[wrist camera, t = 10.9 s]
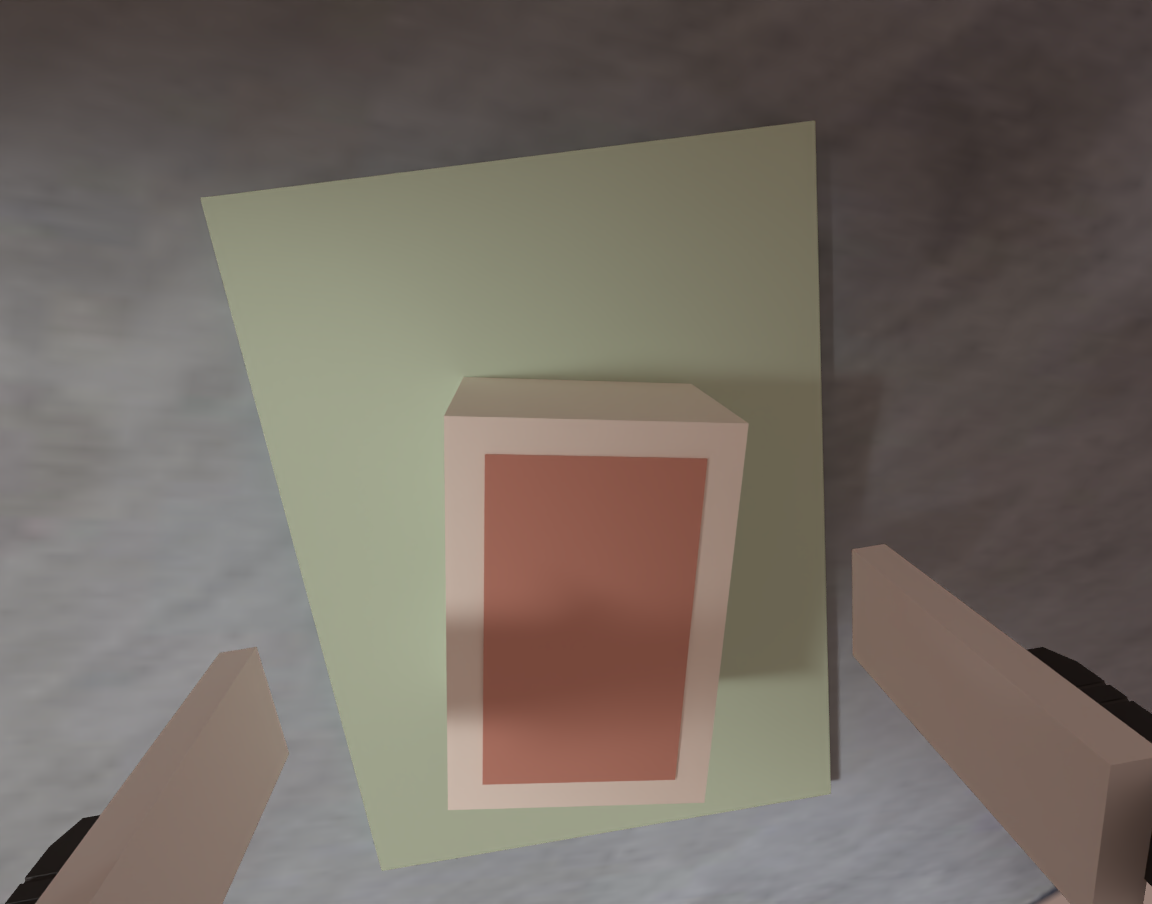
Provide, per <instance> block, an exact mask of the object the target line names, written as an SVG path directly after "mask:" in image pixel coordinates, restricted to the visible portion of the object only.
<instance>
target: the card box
mask: <svg viewBox="0 0 1152 904" xmlns="http://www.w3.org/2000/svg"><path fill="white" fill-rule="evenodd" d="M748 426H749V423H747V422H746V421H744V420H743V419H742V418H740V417H739V416H737V415H736V414H734V413H733V412H731V411H730V410H728V409H727V408H726V407H724V406H723V405H721V404H720V403H718V402H717V401H715V400H714V399H713V398H711V397H710V396H708V395H707V394H705V393H704V392H702V391H701V390H700V389H698V388H697V387H695V386H694V385H692V384H684V383H650V382H617V381H584V380H550V379H517V378H484V377H463V379H462V381H461V383H460V385H459V387H458V389H457V391H456V393H455V395H454V397H453V399H452V401H451V403H450V405H449V407H448V409H447V411H446V413H445V415H444V478H445V576H446V675H447V773H448V810H471V809H506V808H541V807H576V806H611V805H646V804H681V803H704V802H705V793H706V785H707V776H708V768H709V759H710V751H711V742H712V734H713V725H714V716H715V708H716V699H717V691H718V682H719V674H720V665H721V657H722V648H723V639H724V631H725V622H726V614H727V605H728V597H729V588H730V580H731V571H732V562H733V554H734V545H735V537H736V528H737V520H738V511H739V503H740V494H741V485H742V477H743V468H744V460H745V451H746V443H747V434H748Z"/></svg>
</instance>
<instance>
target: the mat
mask: <svg viewBox="0 0 1152 904" xmlns="http://www.w3.org/2000/svg"><path fill="white" fill-rule="evenodd" d="M200 199H201V203H202V207H203V211H204V214H205V218H206V222H207V225H208V229H209V233H210V236H211V240H212V244H213V248H214V251H215V255H216V259H217V262H218V266H219V270H220V274H221V277H222V281H223V285H224V288H225V292H226V296H227V299H228V303H229V307H230V311H231V314H232V318H233V322H234V325H235V329H236V333H237V337H238V340H239V344H240V348H241V351H242V355H243V359H244V362H245V366H246V370H247V374H248V377H249V381H250V385H251V388H252V392H253V396H254V400H255V403H256V407H257V411H258V414H259V418H260V422H261V425H262V429H263V433H264V437H265V440H266V444H267V448H268V451H269V455H270V459H271V463H272V466H273V470H274V474H275V477H276V481H277V485H278V488H279V492H280V496H281V500H282V503H283V507H284V511H285V514H286V518H287V522H288V526H289V529H290V533H291V537H292V540H293V544H294V548H295V551H296V555H297V559H298V563H299V566H300V570H301V574H302V577H303V581H304V585H305V589H306V592H307V596H308V600H309V603H310V607H311V611H312V614H313V618H314V622H315V626H316V629H317V633H318V637H319V640H320V644H321V648H322V652H323V655H324V659H325V663H326V666H327V670H328V674H329V677H330V681H331V685H332V689H333V692H334V696H335V700H336V703H337V707H338V711H339V714H340V718H341V722H342V726H343V729H344V733H345V737H346V740H347V744H348V748H349V752H350V755H351V759H352V763H353V766H354V770H355V774H356V777H357V781H358V785H359V789H360V792H361V796H362V800H363V803H364V807H365V811H366V815H367V818H368V822H369V826H370V829H371V833H372V837H373V840H374V844H375V848H376V852H377V855H378V859H379V863H380V866H381V870H382V871H384V870H390V869H396V868H402V867H408V866H413V865H419V864H425V863H431V862H437V861H443V860H448V859H454V858H460V857H466V856H472V855H478V854H483V853H489V852H495V851H501V850H507V849H512V848H518V847H524V846H530V845H536V844H542V843H547V842H553V841H559V840H565V839H571V838H577V837H582V836H588V835H594V834H600V833H606V832H612V831H617V830H623V829H629V828H635V827H641V826H647V825H652V824H658V823H664V822H670V821H676V820H682V819H687V818H693V817H699V816H705V815H711V814H716V813H722V812H728V811H734V810H740V809H746V808H751V807H757V806H763V805H769V804H775V803H781V802H786V801H792V800H798V799H804V798H810V797H816V796H821V795H827V794H831V780H830V737H829V695H828V652H827V609H826V566H825V523H824V480H823V437H822V395H821V352H820V309H819V266H818V223H817V180H816V137H815V120H814V121H806V122H798V123H791V124H783V125H775V126H767V127H759V128H751V129H743V130H735V131H727V132H719V133H711V134H703V135H695V136H687V137H679V138H672V139H664V140H656V141H648V142H640V143H632V144H624V145H616V146H608V147H600V148H592V149H584V150H576V151H568V152H560V153H553V154H545V155H537V156H529V157H521V158H513V159H505V160H497V161H489V162H481V163H473V164H465V165H457V166H449V167H441V168H433V169H426V170H418V171H410V172H402V173H394V174H386V175H378V176H370V177H362V178H354V179H346V180H338V181H330V182H322V183H314V184H307V185H299V186H291V187H283V188H275V189H267V190H259V191H251V192H243V193H235V194H227V195H219V196H211V197H203V198H200ZM463 377H484V378H517V379H550V380H584V381H617V382H650V383H684V384H692V385H694V386H695V387H697V388H698V389H700V390H701V391H702V392H704V393H705V394H707V395H708V396H710V397H711V398H713V399H714V400H715V401H717V402H718V403H720V404H721V405H723V406H724V407H726V408H727V409H728V410H730V411H731V412H733V413H734V414H736V415H737V416H739V417H740V418H742V419H743V420H744V421H746V422H747V423H749V426H748V434H747V443H746V451H745V460H744V468H743V477H742V485H741V494H740V503H739V511H738V520H737V528H736V537H735V545H734V554H733V562H732V571H731V580H730V588H729V597H728V605H727V614H726V622H725V631H724V639H723V648H722V657H721V665H720V674H719V682H718V691H717V699H716V708H715V716H714V725H713V734H712V742H711V751H710V759H709V768H708V776H707V785H706V793H705V802H704V803H681V804H646V805H611V806H576V807H541V808H506V809H471V810H448V773H447V675H446V576H445V478H444V415H445V413H446V411H447V409H448V407H449V405H450V403H451V401H452V399H453V397H454V395H455V393H456V391H457V389H458V387H459V385H460V383H461V381H462V379H463Z"/></svg>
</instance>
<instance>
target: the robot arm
mask: <svg viewBox="0 0 1152 904" xmlns="http://www.w3.org/2000/svg"><path fill="white" fill-rule="evenodd" d="M852 623H853V656H854V657H855V659H856V660H857V661H858V662H859V663H860V664H861V665H862V667H863V668H864V669H865V670H866V671H867V672H868V673H869V675H870V676H871V677H872V678H873V679H874V680H875V681H876V683H877V684H878V685H879V686H880V687H881V688H882V689H883V690H884V692H885V693H886V694H887V695H888V696H889V697H890V698H891V700H892V701H893V702H894V703H895V704H896V705H897V706H898V708H899V709H900V710H901V711H902V712H903V713H904V714H905V716H906V717H907V718H908V719H909V720H910V721H911V722H912V724H913V725H914V726H915V727H916V728H917V729H918V730H919V732H920V733H921V734H922V735H923V736H924V737H925V738H926V740H927V741H928V742H929V743H930V744H931V745H932V746H933V748H934V749H935V750H936V751H937V752H938V753H939V754H940V755H941V757H942V758H943V759H944V760H945V761H946V762H947V763H948V765H949V766H950V767H951V768H952V769H953V770H954V771H955V773H956V774H957V775H958V776H959V777H960V778H961V779H962V781H963V782H964V783H965V784H966V785H967V786H968V787H969V789H970V790H971V791H972V792H973V793H974V794H975V795H976V797H977V798H978V799H979V800H980V801H981V802H982V803H983V805H984V806H985V807H986V808H987V809H988V810H989V811H990V813H991V814H992V815H993V816H994V817H995V818H996V819H997V820H998V822H999V823H1000V824H1001V825H1002V826H1003V827H1004V828H1005V830H1006V831H1007V832H1008V833H1009V834H1010V835H1011V836H1012V838H1013V839H1014V840H1015V841H1016V842H1017V843H1018V844H1019V846H1020V847H1021V848H1022V849H1023V850H1024V851H1025V852H1026V854H1027V855H1028V856H1029V857H1030V858H1031V859H1032V860H1033V862H1034V863H1035V864H1036V865H1037V866H1038V867H1039V868H1040V870H1041V871H1042V872H1043V873H1044V874H1045V875H1046V876H1047V877H1048V879H1049V880H1050V881H1051V882H1052V883H1053V884H1054V885H1055V887H1056V888H1057V889H1058V890H1059V891H1060V892H1061V893H1062V895H1063V896H1064V897H1065V898H1066V899H1067V900H1068V901H1069V902H1070V904H1143V901H1144V895H1145V889H1146V882H1148V883H1149V884H1150V885H1151V886H1152V714H1151V713H1149V712H1148V711H1146V710H1145V709H1144V708H1142V707H1141V706H1139V705H1138V704H1136V703H1135V702H1134V701H1130V702H1129V701H1128V699H1127V697H1126V696H1125V695H1124V694H1122V693H1121V692H1119V691H1118V690H1117V689H1115V688H1114V687H1112V686H1111V685H1106V684H1105V683H1104V680H1102V679H1101V678H1099V677H1098V676H1097V675H1095V674H1094V673H1092V672H1091V671H1089V670H1088V669H1087V668H1085V667H1084V666H1082V665H1081V664H1080V663H1078V662H1077V661H1074V660H1072V659H1069V658H1067V657H1065V656H1062V655H1060V654H1058V653H1055V652H1053V651H1051V650H1048V649H1046V648H1044V647H1040V648H1034V649H1028V650H1026V649H1025V648H1023V647H1022V646H1021V645H1019V644H1018V643H1017V642H1015V641H1014V640H1013V639H1011V638H1010V637H1009V636H1007V635H1006V634H1005V633H1003V632H1002V631H1001V630H999V629H998V628H997V627H995V626H994V625H993V624H991V623H990V622H988V621H987V620H986V619H984V618H983V617H982V616H980V615H979V614H978V613H976V612H975V611H974V610H972V609H971V608H970V607H968V606H967V605H966V604H964V603H963V602H962V601H960V600H959V599H958V598H956V597H955V596H954V595H952V594H951V593H950V592H948V591H947V590H946V589H944V588H943V587H942V586H940V585H939V584H938V583H936V582H935V581H934V580H932V579H931V578H930V577H928V576H927V575H926V574H924V573H923V572H922V571H920V570H919V569H918V568H916V567H915V566H914V565H912V564H911V563H910V562H908V561H907V560H906V559H904V558H903V557H902V556H900V555H899V554H898V553H896V552H895V551H894V550H892V549H891V548H890V547H888V546H887V545H886V544H881V545H875V546H869V547H863V548H857V549H852ZM288 755H289V751H288V748H287V745H286V742H285V738H284V735H283V732H282V729H281V725H280V722H279V719H278V715H277V712H276V709H275V706H274V702H273V699H272V696H271V693H270V689H269V686H268V683H267V679H266V676H265V673H264V670H263V666H262V663H261V660H260V657H259V653H258V650H257V647H253V648H247V649H241V650H235V651H228V652H222V653H219V655H218V656H217V657H216V659H215V660H214V661H213V663H212V664H211V665H210V667H209V668H208V670H207V671H206V672H205V674H204V675H203V676H202V678H201V679H200V680H199V682H198V683H197V685H196V686H195V687H194V689H193V690H192V691H191V693H190V694H189V695H188V697H187V698H186V699H185V701H184V702H183V704H182V705H181V706H180V708H179V709H178V710H177V712H176V713H175V714H174V716H173V717H172V719H171V720H170V721H169V723H168V724H167V725H166V727H165V728H164V729H163V731H162V732H161V733H160V735H159V736H158V738H157V739H156V740H155V742H154V743H153V744H152V746H151V747H150V748H149V750H148V751H147V752H146V754H145V755H144V757H143V758H142V759H141V761H140V762H139V763H138V765H137V766H136V767H135V769H134V770H133V772H132V773H131V774H130V776H129V777H128V778H127V780H126V781H125V782H124V784H123V785H122V786H121V788H120V789H119V791H118V792H117V793H116V795H115V796H114V797H113V799H112V800H111V801H110V803H109V804H108V805H107V807H106V808H105V810H104V811H103V812H102V814H101V815H98V816H92V817H87V818H83V819H81V820H80V821H79V822H78V823H77V824H76V825H74V826H73V827H72V828H71V829H70V830H68V831H67V832H66V833H65V834H64V835H63V836H61V837H60V838H59V839H58V840H57V841H56V842H54V843H53V844H52V845H51V846H50V847H49V848H48V849H47V850H46V852H45V853H44V854H43V856H42V857H41V858H40V859H39V861H38V862H37V863H36V865H35V866H34V867H33V868H32V870H31V871H30V872H29V873H28V875H27V876H26V877H25V882H24V884H20V885H19V886H18V888H17V889H16V890H15V891H14V893H13V894H12V895H11V896H10V898H9V899H8V900H7V902H6V903H5V904H222V903H223V901H224V899H225V897H226V894H227V892H228V890H229V888H230V885H231V883H232V881H233V879H234V876H235V874H236V872H237V870H238V867H239V865H240V863H241V861H242V858H243V856H244V854H245V852H246V849H247V847H248V845H249V843H250V840H251V838H252V836H253V834H254V831H255V829H256V827H257V825H258V822H259V820H260V818H261V815H262V813H263V811H264V809H265V806H266V804H267V802H268V800H269V797H270V795H271V793H272V791H273V788H274V786H275V784H276V782H277V779H278V777H279V775H280V773H281V770H282V768H283V766H284V764H285V761H286V759H287V757H288Z"/></svg>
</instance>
